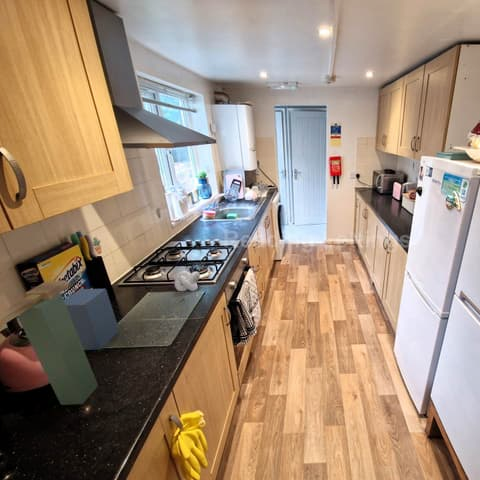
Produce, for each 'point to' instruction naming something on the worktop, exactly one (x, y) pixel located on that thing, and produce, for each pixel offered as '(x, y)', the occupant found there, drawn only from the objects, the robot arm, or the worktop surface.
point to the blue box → (92, 317)
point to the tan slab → (33, 299)
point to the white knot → (186, 281)
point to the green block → (59, 350)
